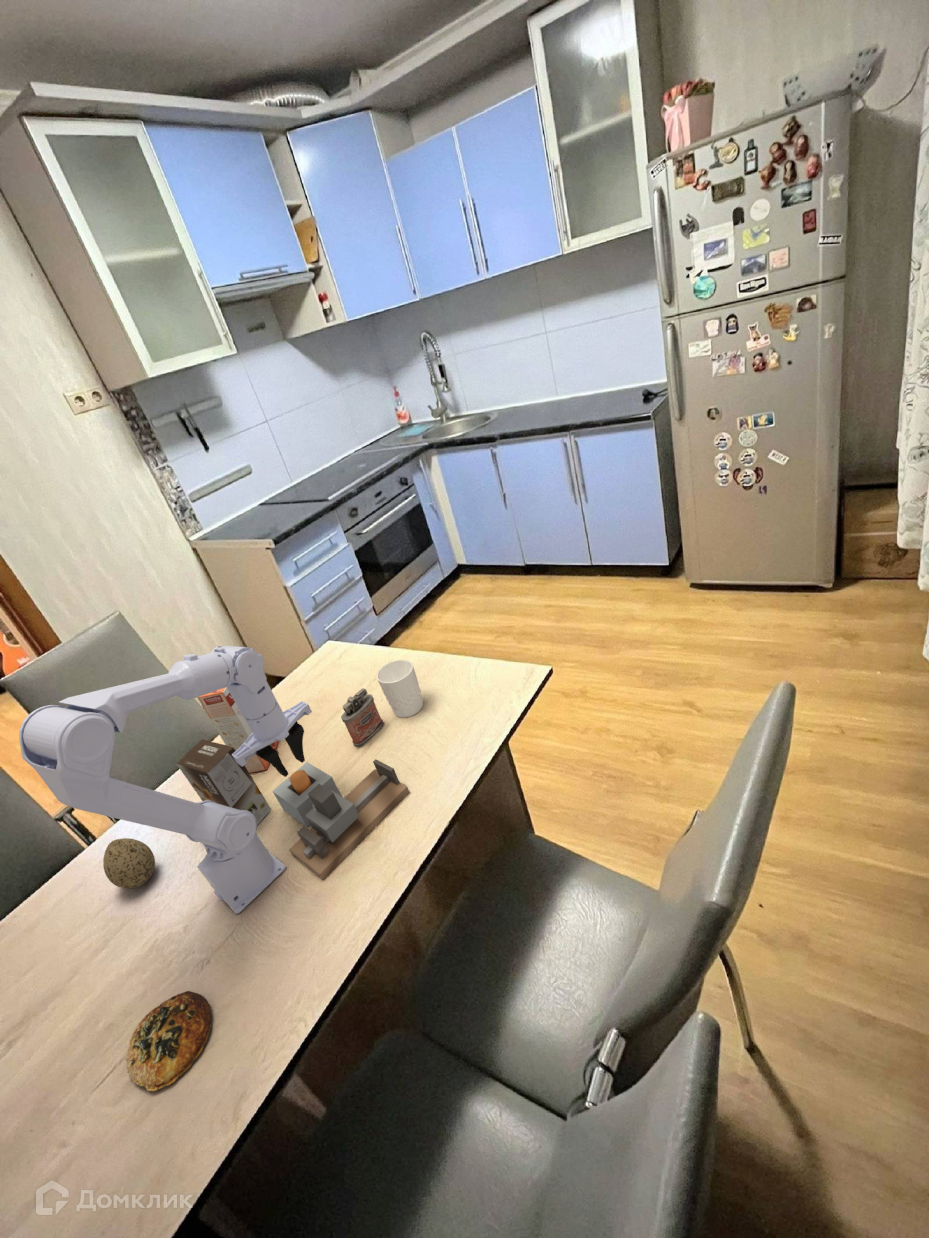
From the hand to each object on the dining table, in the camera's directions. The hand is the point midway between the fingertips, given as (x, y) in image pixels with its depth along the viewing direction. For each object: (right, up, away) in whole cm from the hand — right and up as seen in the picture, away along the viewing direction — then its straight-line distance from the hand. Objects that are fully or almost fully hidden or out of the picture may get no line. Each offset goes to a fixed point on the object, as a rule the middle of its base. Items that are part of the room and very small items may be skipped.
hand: (292, 766), depth 101 cm
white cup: (+18, +7, +22) cm, 30 cm away
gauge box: (+2, -8, +5) cm, 9 cm away
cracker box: (-12, -2, +22) cm, 25 cm away
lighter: (+11, +2, +18) cm, 21 cm away
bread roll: (-8, -30, -26) cm, 40 cm away
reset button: (+2, -6, +3) cm, 7 cm away
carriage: (+9, -8, -5) cm, 13 cm away
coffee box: (-11, -11, +6) cm, 17 cm away
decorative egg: (-26, -20, -1) cm, 32 cm away
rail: (+11, -9, -2) cm, 15 cm away
